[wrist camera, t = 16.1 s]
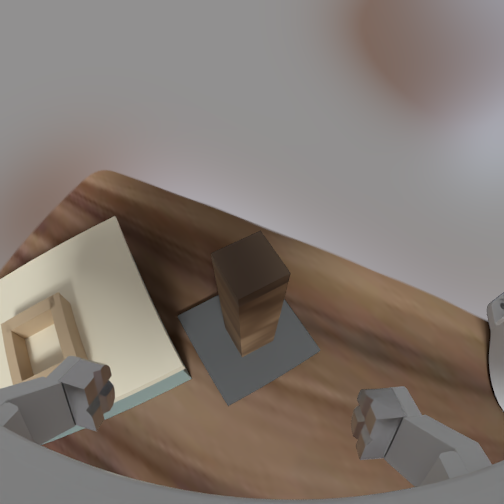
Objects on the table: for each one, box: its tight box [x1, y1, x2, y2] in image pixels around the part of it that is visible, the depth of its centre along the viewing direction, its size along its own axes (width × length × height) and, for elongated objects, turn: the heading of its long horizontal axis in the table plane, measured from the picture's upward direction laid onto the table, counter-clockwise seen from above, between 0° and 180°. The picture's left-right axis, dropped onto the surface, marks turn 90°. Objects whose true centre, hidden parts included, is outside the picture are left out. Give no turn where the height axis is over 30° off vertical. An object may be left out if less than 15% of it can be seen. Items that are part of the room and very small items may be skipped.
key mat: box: [178, 295, 320, 406], centre depth 27 cm, size 9×9×1 cm
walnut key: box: [211, 231, 290, 357], centre depth 21 cm, size 3×3×12 cm
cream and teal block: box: [0, 216, 192, 445], centre depth 21 cm, size 23×15×8 cm, turn 121°
